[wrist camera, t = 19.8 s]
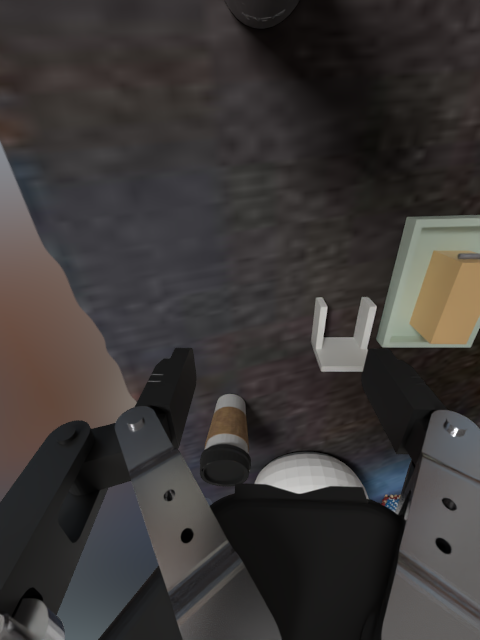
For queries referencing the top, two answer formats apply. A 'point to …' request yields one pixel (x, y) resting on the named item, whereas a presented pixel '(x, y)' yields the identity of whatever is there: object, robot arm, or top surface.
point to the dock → (342, 340)
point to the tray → (422, 273)
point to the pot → (307, 473)
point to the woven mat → (391, 502)
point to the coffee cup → (227, 444)
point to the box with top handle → (449, 298)
